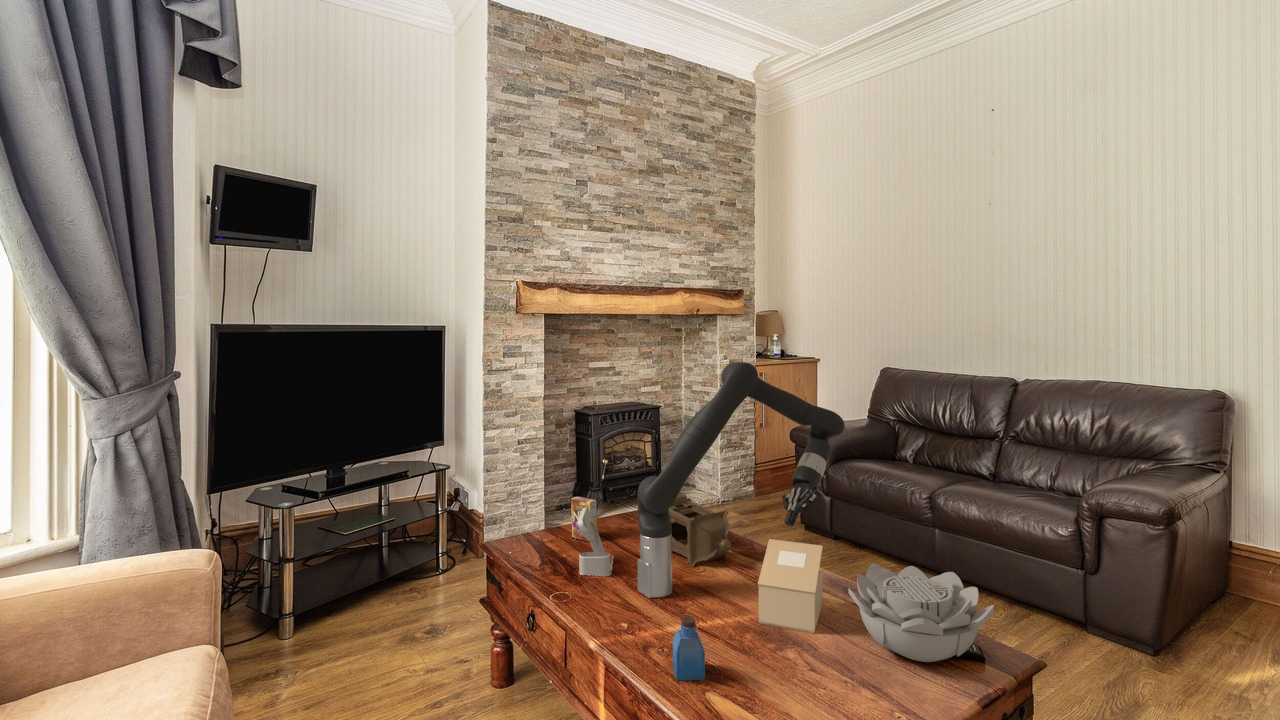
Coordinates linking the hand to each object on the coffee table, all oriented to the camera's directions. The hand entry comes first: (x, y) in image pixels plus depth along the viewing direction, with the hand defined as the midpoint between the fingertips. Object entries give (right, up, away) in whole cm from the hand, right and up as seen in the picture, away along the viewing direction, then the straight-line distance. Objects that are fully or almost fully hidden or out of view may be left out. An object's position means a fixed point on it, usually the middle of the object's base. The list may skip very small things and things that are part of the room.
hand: (788, 524), depth 168 cm
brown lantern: (-23, -21, +39) cm, 49 cm away
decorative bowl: (+23, -23, -24) cm, 41 cm away
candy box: (-61, -21, +54) cm, 84 cm away
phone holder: (-55, -22, +29) cm, 66 cm away
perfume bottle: (-30, -24, -32) cm, 50 cm away
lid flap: (-1, -9, -7) cm, 11 cm away
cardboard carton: (-1, -22, -6) cm, 23 cm away
